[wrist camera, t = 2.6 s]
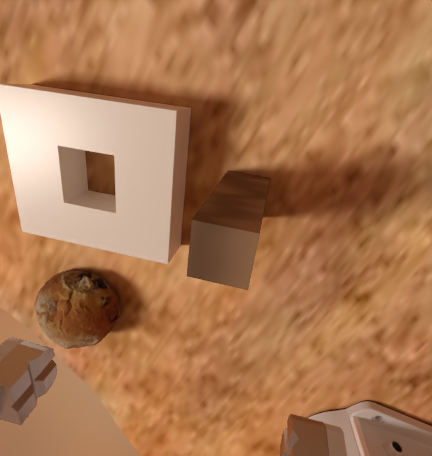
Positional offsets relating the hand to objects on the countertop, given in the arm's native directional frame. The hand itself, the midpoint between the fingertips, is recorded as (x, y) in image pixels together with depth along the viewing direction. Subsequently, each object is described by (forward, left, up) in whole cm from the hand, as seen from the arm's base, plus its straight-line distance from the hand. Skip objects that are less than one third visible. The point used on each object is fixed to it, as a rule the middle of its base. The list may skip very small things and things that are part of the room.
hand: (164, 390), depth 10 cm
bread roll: (+18, +18, -22) cm, 33 cm away
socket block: (+14, 0, -21) cm, 25 cm away
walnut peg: (0, 0, -21) cm, 21 cm away
